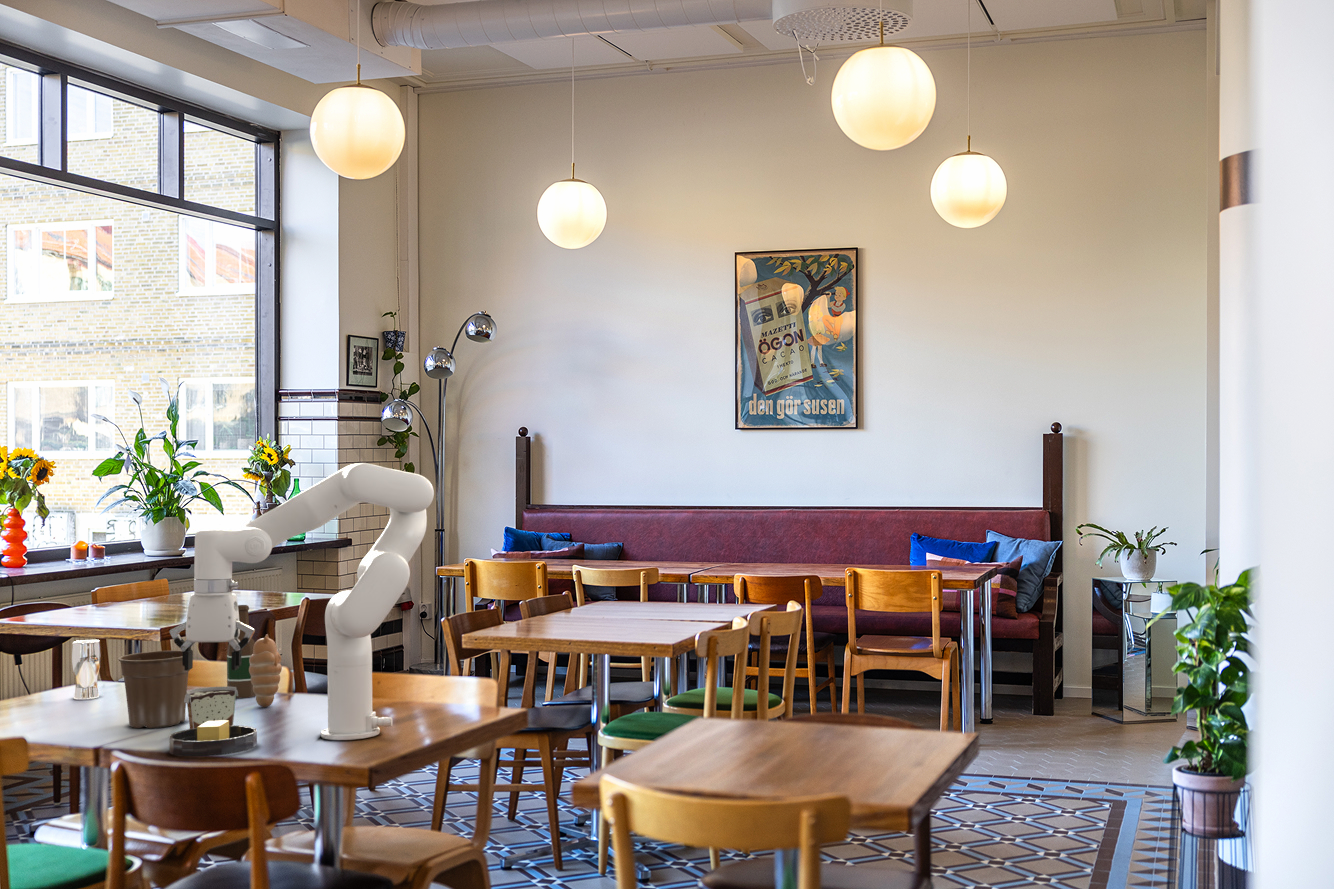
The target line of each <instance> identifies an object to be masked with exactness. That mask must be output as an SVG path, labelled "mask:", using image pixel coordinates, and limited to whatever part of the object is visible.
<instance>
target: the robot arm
mask: <svg viewBox="0 0 1334 889" xmlns="http://www.w3.org/2000/svg"><path fill="white" fill-rule="evenodd" d="M434 490H435V489H434V487H433V484H432V483H431V481H430V480H429V479H428V478H427V477H425V476H424V475H421V474H418V473H413V472H408V471H403V470H399V469H394V468H389V467H385V466H382V465H381V466H380V465H377V464H372V463H367V462H359V463H352V464H349V465H346V466H345V467H343V468H341V469H339V470H337V471H336V472H334V473H333V474H331V475H329V476H328V477H326V478H324V479H321V481H319V482H317V483H316V484H314V485H312V486H311V487H308V488H307V489H305V490H303V491H301V492H299V493H298V494H296V495H295V496H293V497H291V498H289V499H287V500H286V501H285V502H283V503H282V504H280V505H278V506H276V507H273V508H272V509H270V510H269V511H267V512H265V513H263V514H261V515H260V516H258V517H256V518H254V519H252V520H251V521H249V522H247V523H246V524H244V525H242V526H240V527H239V528H238V529H234V530H230V529H227V528H205V529H204V528H203V529H202V528H201V529H199V530H198V531H196V532H195V535H194V568H193V571H194V572H193V574H194V576H193V579H194V580H193V593H191V594H190V596H189V602H188V607H187V614H186V621H185V622H183V623H182V624H179V625H177V626H175V627H173V628H171V629H170V630H169V634H170V636H171V638H172V640H173V643H174V644H175V645H176V646H177V647H178V648H179V651H183V657H182V665H183V666H184V670H185V671H188V670H189V671H190V670H192V669H193V668H194V650H193V649H192V647H193V646H194V644H196V643H228V645H229V644H230V645H231V646H232V647H233V648H234V651H232V658H231V669H232V670H237V669H239V666H240V665H241V651H242V649H243V648H244V647H245V646H246V645H247V644H248V643H249V642H250V639H251V638H252V639H253V636H254V634H255V632H256V628H253V627H252V626H250V625H249V626H248V625H246V624H244V623H242V622H240V621H239V610H238V605H239V602H238V598H237V594H236V593H233V591H234V590H235V589H239V587H240V583H239V581H234V579H233V563H234V562H236V563H246V564H257V563H261V562H263V561H264V560H266V559H268V557H269V556H270V555H271V553H272V549H273V548H275V547H276V546H278V545H280V544H281V543H284V542H285V541H288V540H290V539H292V538H294V537H295V536H298V535H301V534H305V533H308V532H311V531H314V530H316V529H319V528H321V527H322V526H324V525H326V524H328V523H329V522H331V521H332V520H334V519H335V518H337V517H339V516H341V515H342V514H344V513H345V512H347V511H349V510H351V509H352V508H354V507H356V506H358V505H359V504H361V503H367V504H370V505H375V506H380V507H384V508H388V509H389V520H388V522H387V524H386V527H385V528H384V529H383V532H382V533H381V534H380V536H379V537H378V538H377V540H376V541H375V543H374V544H373V545H372V547H371V548H370V549H369V551H368V552H367V554H366V555H365V556H364V557H363V558H362V560H361V561H360V563H359V565H358V567H357V570H356V576H357V582H356V583H355V585H354V586H353V587H352V589H351V590H343V591H340V592H338V593H336V594H335V595H333V596H332V597H331V598H330V599H329V601H328V602H327V605H326V607H325V612H324V624H325V625H324V626H325V635H326V647H327V728H324V729H322V730H321V731H320V737H321V738H322V739H324V740H330V741H353V740H355V741H356V740H362V739H363V740H364V739H368V738H369V739H370V738H373V737H376V736H378V735H380V733H381V729H380V728H381V727H383V728H384V727H393V720H394V719H393V717H389V716H382V717H379V716H376V715H377V712H376V711H373V646H372V644H373V643H372V634H373V633H374V632H376V630H377V629H378V628H379V627H380V626H381V624H382V623H383V622H384V620H385V619H386V618H387V617H388V615H389V613H390V612H391V610H392V609H393V607H394V606H395V605H396V603H397V602H398V600H399V599H400V598H401V596H402V595H403V593H404V592H405V590H406V589H407V586H408V584H409V581H410V577H411V571H410V566H409V562H410V561H411V559H412V558H413V556H414V555H415V553H416V551H417V550H418V549H419V547H420V545H421V543H422V541H423V539H424V537H425V534H426V531H427V526H428V521H427V520H428V515H427V509H428V508H429V507H430V505H431V504H432V502H433V500H434V497H435V496H434V495H435V491H434ZM184 630H185V639H186V640H184V639H183V638H182V637H181V635H180V633H181V632H182V631H184ZM240 630H242V631H244V632H245V633H246V634H245V637H244V638H243V639H242V640H241V641H239V639H238V637H239V634H240Z"/></svg>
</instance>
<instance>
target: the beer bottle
mask: <svg viewBox="0 0 1334 889" xmlns="http://www.w3.org/2000/svg"><path fill="white" fill-rule="evenodd" d="M238 610H239V621H240V622H242V623H244V624H246V625H248V626H250V618H249V610H250V607H249V605H247V604H238ZM245 634H246V633H245V632H244V631H242V630H240V634H239V637H238V639H239V641H241V640H242V639H243V638H244V637H245ZM255 642H256V641H255V640H254V638H253V637H252V638H251V639H250V642H249V643H248V644H247V645H246V646H245V647H244V648H243V649H242V651H241V665H240V666H239V669H237V670H232V669H231V658H232V651H234V648H233V647H232V646H231V645H230V644H229V643H228V645H227V648H226V649H227V650H226V687H236V690H237V691H238V696H236V699H246V698H247V699H248V698H249V699H250V698H253V697H256V694H255V693H254V692H253V685H252V683H251V675H250V673H249V667H250V663H249V659H250V656H251V655H252V654H253V647H254V644H255Z"/></svg>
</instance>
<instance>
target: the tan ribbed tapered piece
mask: <svg viewBox="0 0 1334 889" xmlns="http://www.w3.org/2000/svg"><path fill="white" fill-rule="evenodd" d="M281 662H282V656H281V654H280V652H279V651H278V647H277V643H276V642H275V641H274V640H273V639H272V638H270V637H269V634H268V633H267V634H265V636H264V637H262V638H259V639H257V640H256V641H255V644H254V647H253V654H252V655H251V656H250V659H249V663H250V667H249V673H250V675H251V683H252V685H253V692H254V693H255V694H256V696H255V701H256V703H257V705H258V706H259V707H261V708H268V707H270V706H271V705H272V704H273V702H274V701H275V695H276V694H277V692H278V691H279V684H280V681H281V675H280V674H281V672H282V668H283V666H282V664H281Z"/></svg>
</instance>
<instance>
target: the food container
mask: <svg viewBox="0 0 1334 889" xmlns="http://www.w3.org/2000/svg"><path fill="white" fill-rule="evenodd" d="M236 696H238V691H237V690H236V687H227V686H208V687H200V688H194V689H189V690H187V693H186V695H185V699H184V703H186V707H187V716H188V726H189V729H193V728H197V727H198V726H200V725H202V724H203V723H205V722H207V721H222V720H229V726H231V725H233V726H234V720H235V710H236V699H237V698H236Z"/></svg>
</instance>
